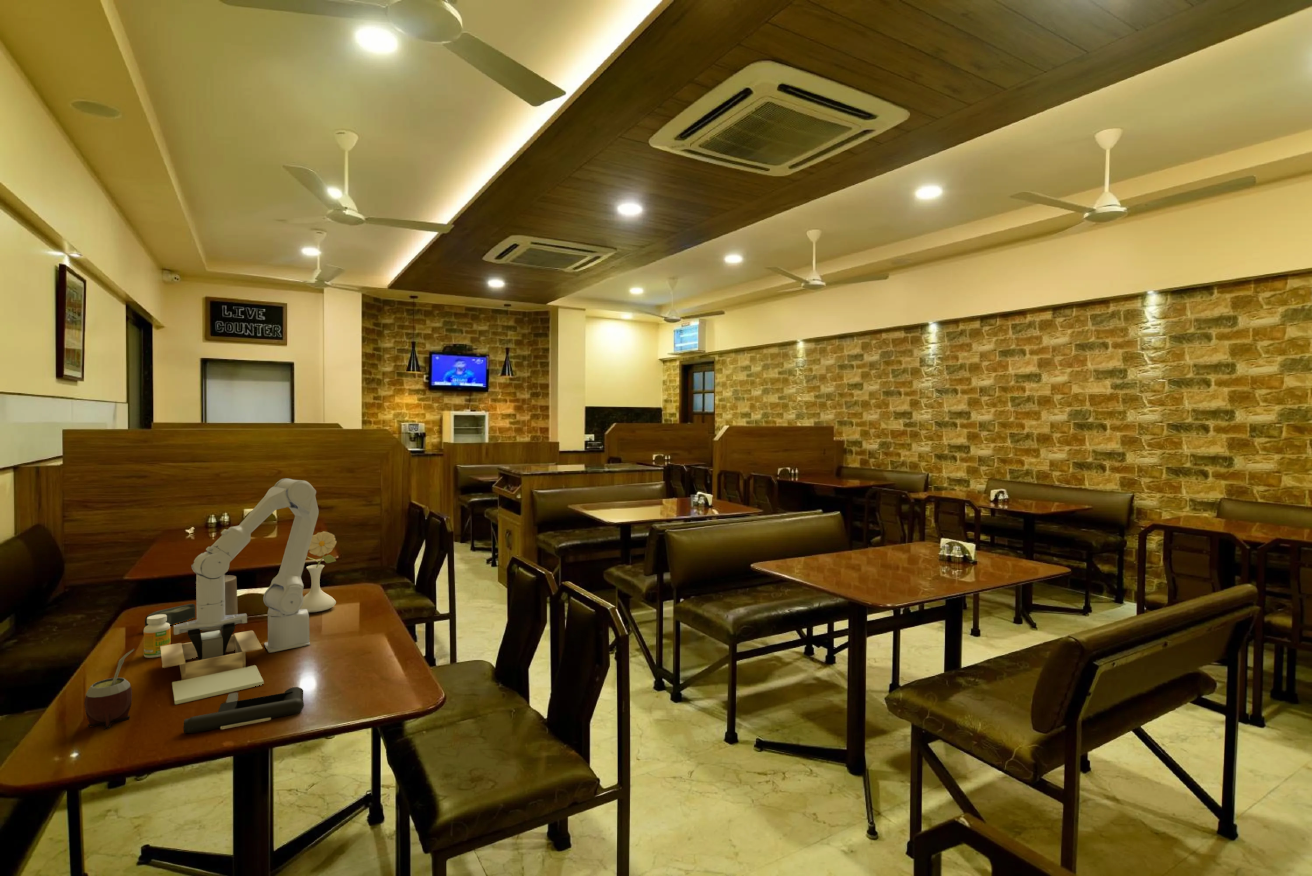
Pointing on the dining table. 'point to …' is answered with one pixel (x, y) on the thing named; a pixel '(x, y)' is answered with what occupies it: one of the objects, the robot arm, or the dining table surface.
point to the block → (211, 644)
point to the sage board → (216, 684)
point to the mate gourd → (109, 700)
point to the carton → (182, 652)
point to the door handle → (247, 711)
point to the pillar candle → (229, 599)
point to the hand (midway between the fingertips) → (211, 657)
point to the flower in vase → (316, 596)
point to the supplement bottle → (156, 635)
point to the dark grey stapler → (176, 614)
